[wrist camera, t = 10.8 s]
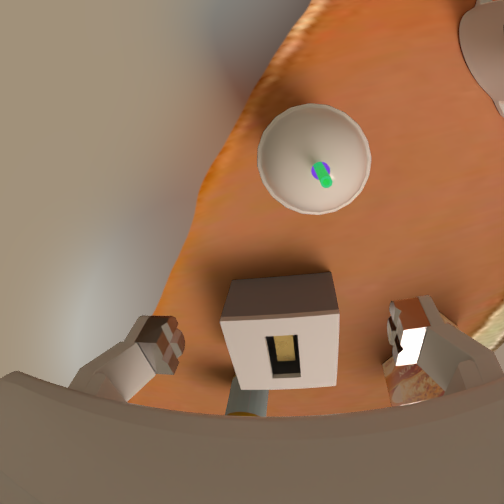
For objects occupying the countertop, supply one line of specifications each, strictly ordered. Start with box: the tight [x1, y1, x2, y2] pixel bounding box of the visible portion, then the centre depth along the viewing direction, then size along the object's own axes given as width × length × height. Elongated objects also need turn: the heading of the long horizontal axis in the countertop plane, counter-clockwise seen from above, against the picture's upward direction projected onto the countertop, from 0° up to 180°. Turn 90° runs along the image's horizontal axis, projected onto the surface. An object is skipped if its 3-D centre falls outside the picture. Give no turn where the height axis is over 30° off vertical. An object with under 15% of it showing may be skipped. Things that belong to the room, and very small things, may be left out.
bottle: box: [225, 374, 269, 417], centre depth 46 cm, size 7×7×15 cm
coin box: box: [220, 272, 340, 390], centre depth 40 cm, size 14×14×9 cm
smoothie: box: [257, 103, 371, 215], centre depth 23 cm, size 8×8×20 cm
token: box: [274, 335, 296, 361], centre depth 41 cm, size 2×6×6 cm, turn 9°
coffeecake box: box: [382, 312, 459, 407], centre depth 36 cm, size 15×7×20 cm, turn 149°
